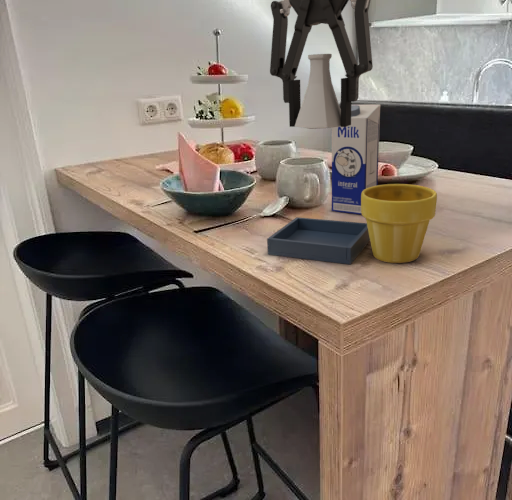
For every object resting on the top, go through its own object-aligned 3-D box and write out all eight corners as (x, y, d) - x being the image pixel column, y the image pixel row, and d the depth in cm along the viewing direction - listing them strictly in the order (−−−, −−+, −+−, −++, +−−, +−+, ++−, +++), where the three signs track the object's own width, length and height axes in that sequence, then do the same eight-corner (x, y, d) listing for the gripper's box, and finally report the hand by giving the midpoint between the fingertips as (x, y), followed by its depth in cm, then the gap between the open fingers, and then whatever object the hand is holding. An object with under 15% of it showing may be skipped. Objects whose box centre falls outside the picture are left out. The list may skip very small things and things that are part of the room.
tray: (371, 238, 82) (371, 223, 81) (350, 264, 72) (350, 247, 71) (296, 231, 88) (296, 217, 87) (267, 254, 78) (266, 238, 77)
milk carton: (377, 206, 100) (381, 103, 93) (364, 215, 95) (367, 106, 88) (345, 203, 104) (346, 103, 97) (330, 211, 99) (330, 106, 92)
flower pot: (400, 274, 68) (404, 204, 64) (345, 255, 76) (346, 192, 72) (446, 256, 73) (452, 190, 70) (390, 239, 81) (393, 180, 78)
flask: (329, 130, 69) (329, 52, 65) (286, 129, 73) (284, 55, 70) (353, 124, 74) (355, 52, 71) (311, 123, 78) (311, 55, 75)
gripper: (402, -60, 65) (394, 122, 72) (262, -38, 73) (269, 122, 81) (390, -72, 58) (382, 129, 66) (238, -47, 67) (248, 128, 75)
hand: (320, 125), depth 74 cm, fingers closed on flask, 7 cm apart
